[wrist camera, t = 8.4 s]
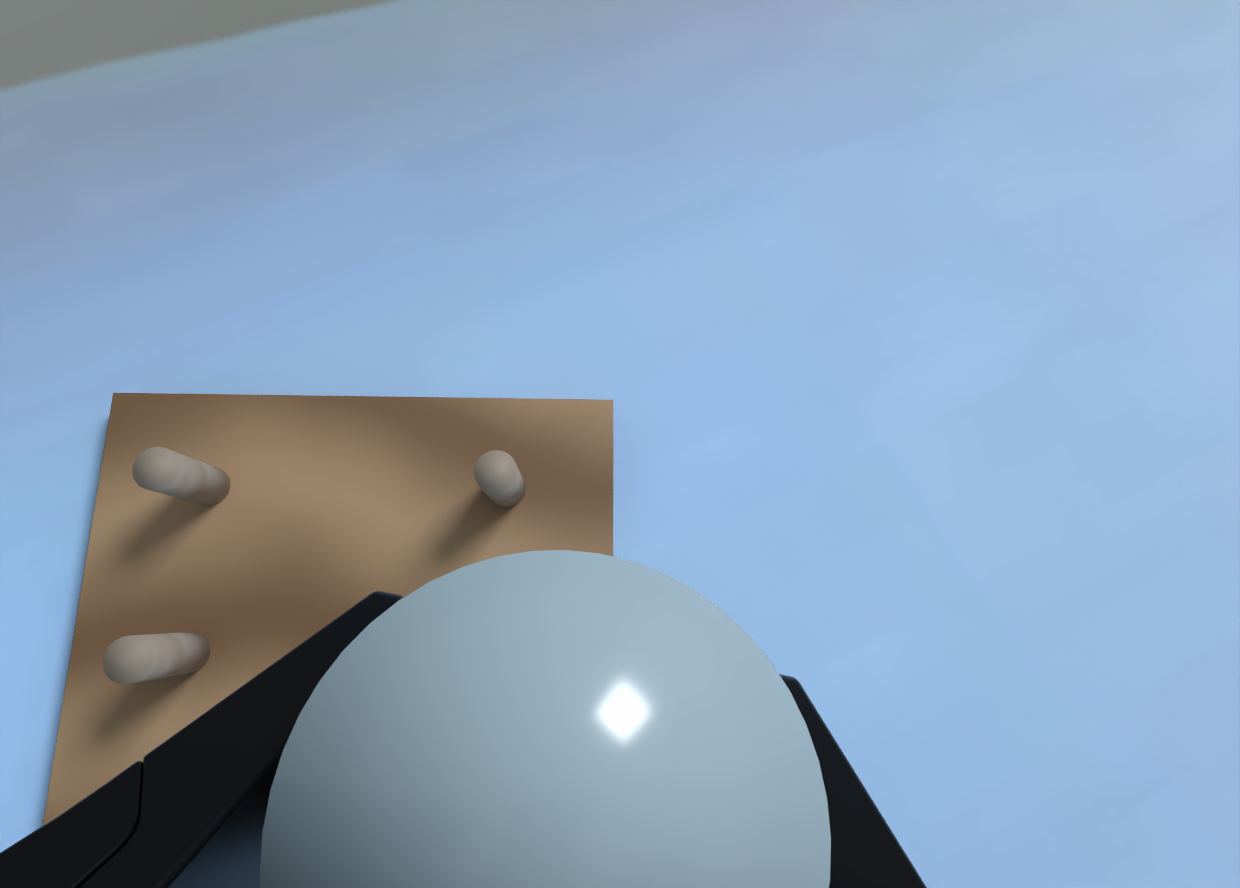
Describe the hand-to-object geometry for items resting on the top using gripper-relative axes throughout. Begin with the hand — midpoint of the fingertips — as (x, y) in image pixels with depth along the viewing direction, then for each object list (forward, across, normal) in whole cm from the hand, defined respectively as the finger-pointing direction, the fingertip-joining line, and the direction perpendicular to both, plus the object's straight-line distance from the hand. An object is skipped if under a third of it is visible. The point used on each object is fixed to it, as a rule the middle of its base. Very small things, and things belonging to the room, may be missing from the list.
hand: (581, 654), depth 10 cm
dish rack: (+8, +7, +11) cm, 15 cm away
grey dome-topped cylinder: (+4, 0, +6) cm, 7 cm away
